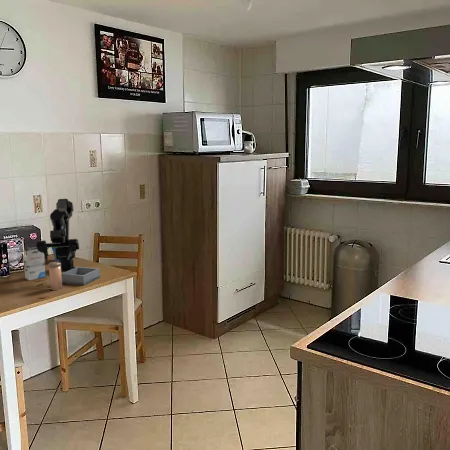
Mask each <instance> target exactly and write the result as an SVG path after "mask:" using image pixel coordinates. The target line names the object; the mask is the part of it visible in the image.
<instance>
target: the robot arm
mask: <svg viewBox="0 0 450 450" xmlns="http://www.w3.org/2000/svg"><path fill="white" fill-rule="evenodd" d="M73 212H74V204H73V202H71V201H70V200H69V199H68V198H59V199H57V202H56V205H55V209H53V211H52V212H51V213H50V215H49V219H50V221H51V226H52V230H50V231H49V238H50V242H47V241H46V240H37V241H36V243H35V246H36V249H38V251H39V252H41V253H43V254H44V261H45V262H46V263H47V262H48V257H49V256H48V255H49V251H47V248H48V247H49V248H52V247H57V248H56V258H57V259H59V262H61V272H63V271H64V272H66V271H69V270H71V269H74V268H76V266H75V265H74V260H73V259H74V258H76V254H75V251H76V252H77V250H80V242H79V239H77V238H70V219H71V217H73ZM38 251H37V252H38Z"/></svg>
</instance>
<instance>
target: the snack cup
mask: <svg viewBox="0 0 450 450" xmlns="http://www.w3.org/2000/svg"><path fill="white" fill-rule="evenodd" d="M49 248H50V247H47V251H48V250H49ZM56 248H57V247H51V250H52V253H53V257H54V260H55V261H54V262H59V259H57V258H56ZM48 252H49V251H48ZM76 254H77V250H76V251H75V255H76ZM48 257H49V254H48Z"/></svg>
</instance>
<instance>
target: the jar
mask: <svg viewBox="0 0 450 450" xmlns="http://www.w3.org/2000/svg"><path fill="white" fill-rule="evenodd" d="M47 266H48V272H49V283H50V290H51V291H61V290H63V283H62V276H61V274H62V270H61V262H57V261H51V262H48V265H47Z"/></svg>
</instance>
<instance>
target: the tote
mask: <svg viewBox="0 0 450 450" xmlns="http://www.w3.org/2000/svg"><path fill="white" fill-rule="evenodd" d="M61 276H62V284H69V285H76V286H77V285H79V286H80V285H81V286H85V285H87V284H89V283H92V282H95V281H96V280H98V279H100V278H101V271H100V268H95V267H85V266H75V268H74V269H71V270H69V271H64V272H63V273H62V272H61Z"/></svg>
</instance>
